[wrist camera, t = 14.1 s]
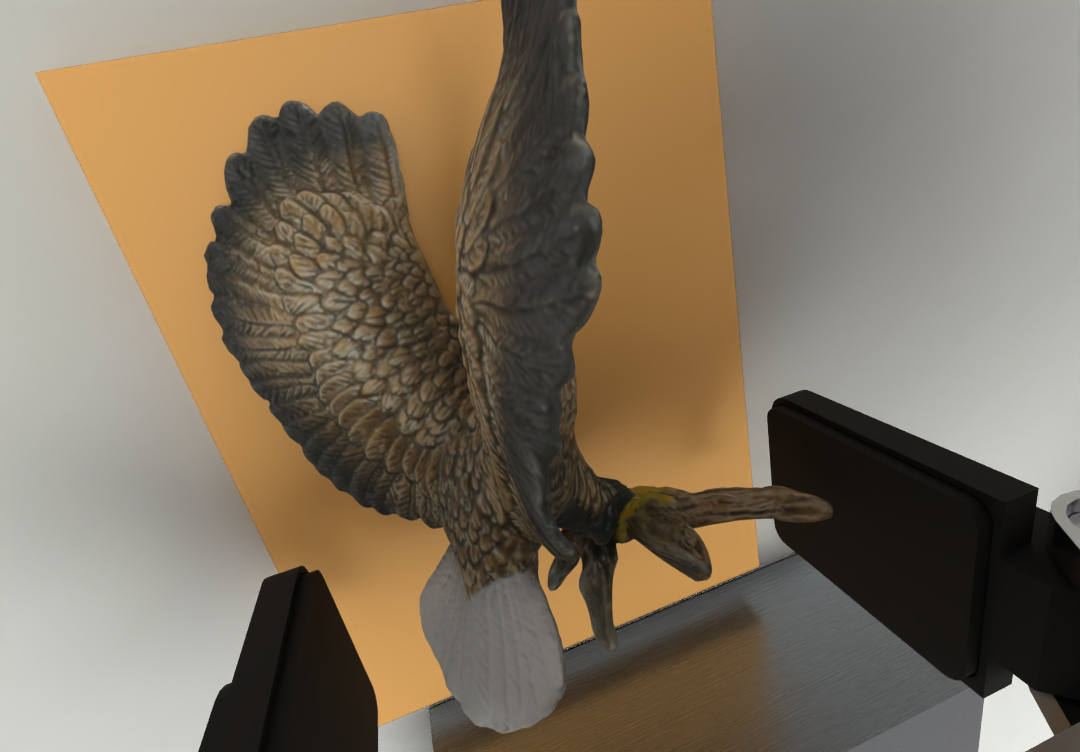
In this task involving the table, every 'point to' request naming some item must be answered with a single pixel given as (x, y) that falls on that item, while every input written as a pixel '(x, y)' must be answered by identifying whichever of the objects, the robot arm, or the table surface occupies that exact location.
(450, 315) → the eagle figurine
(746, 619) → the breaker box
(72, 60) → the table surface
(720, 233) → the pad
